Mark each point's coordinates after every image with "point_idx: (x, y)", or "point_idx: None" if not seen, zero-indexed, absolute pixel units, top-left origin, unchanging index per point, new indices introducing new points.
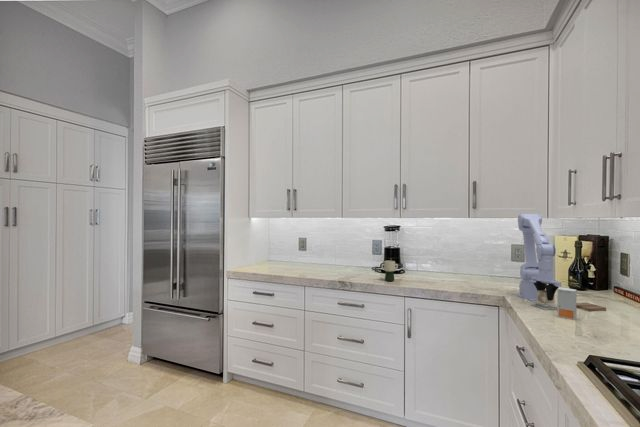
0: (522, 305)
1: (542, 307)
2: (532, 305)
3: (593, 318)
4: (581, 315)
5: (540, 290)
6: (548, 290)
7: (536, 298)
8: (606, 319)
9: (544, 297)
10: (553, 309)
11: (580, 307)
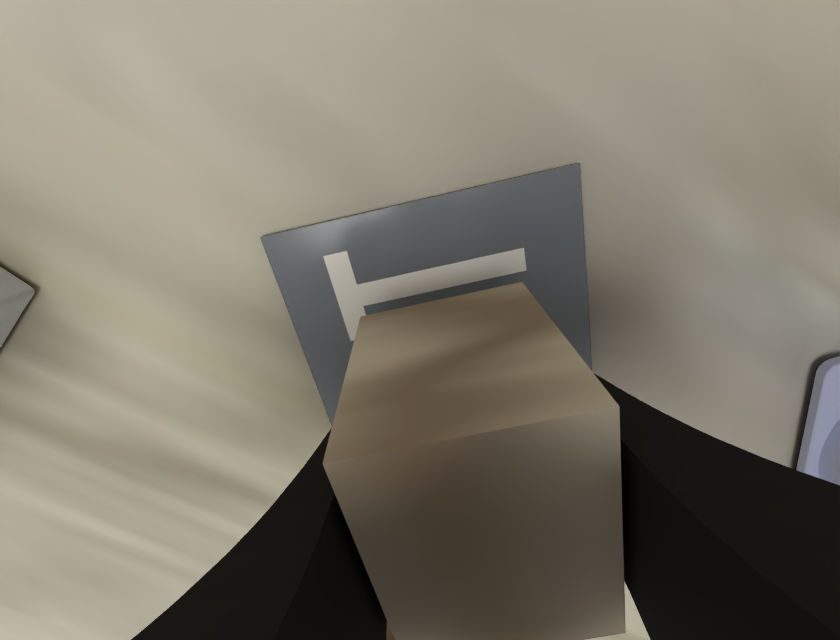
0: (610, 18)
1: (430, 285)
2: (557, 199)
3: (41, 550)
4: (135, 515)
5: (621, 490)
6: (198, 597)
7: (838, 444)
8: (49, 617)
9: (356, 371)
10: (331, 371)
11: (386, 633)
